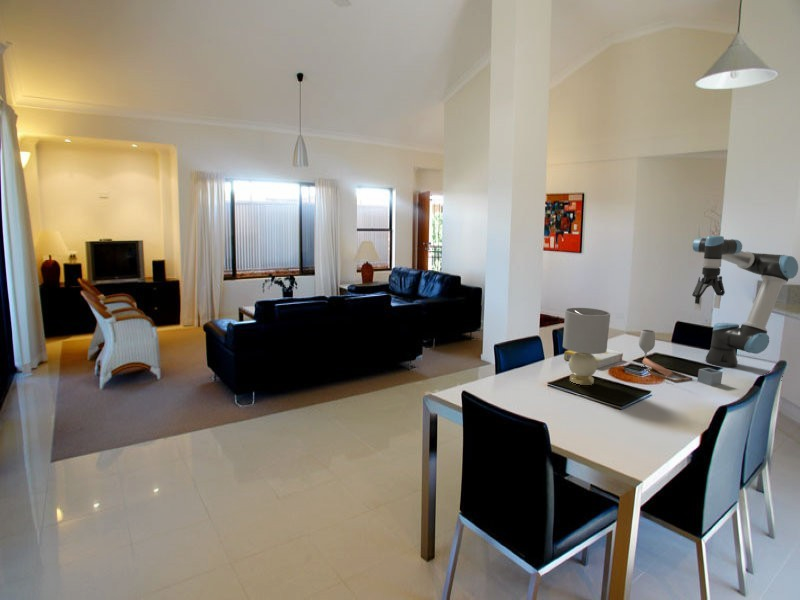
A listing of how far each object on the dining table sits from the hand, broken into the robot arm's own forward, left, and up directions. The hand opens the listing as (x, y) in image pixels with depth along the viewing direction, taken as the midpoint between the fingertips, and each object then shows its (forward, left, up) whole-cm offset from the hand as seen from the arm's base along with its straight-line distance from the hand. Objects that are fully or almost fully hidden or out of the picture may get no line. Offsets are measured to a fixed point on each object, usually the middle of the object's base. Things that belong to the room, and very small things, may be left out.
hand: (707, 309), depth 247 cm
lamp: (+66, -12, -35) cm, 76 cm away
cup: (+9, +12, -35) cm, 39 cm away
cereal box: (+33, -40, -36) cm, 63 cm away
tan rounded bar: (+19, -2, -35) cm, 40 cm away
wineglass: (+18, -18, -35) cm, 44 cm away
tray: (+19, -3, -35) cm, 40 cm away
